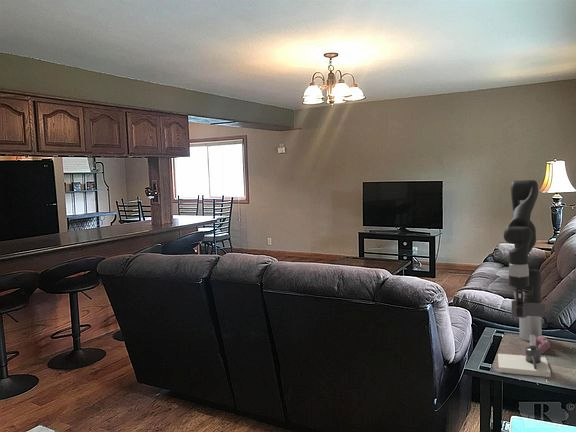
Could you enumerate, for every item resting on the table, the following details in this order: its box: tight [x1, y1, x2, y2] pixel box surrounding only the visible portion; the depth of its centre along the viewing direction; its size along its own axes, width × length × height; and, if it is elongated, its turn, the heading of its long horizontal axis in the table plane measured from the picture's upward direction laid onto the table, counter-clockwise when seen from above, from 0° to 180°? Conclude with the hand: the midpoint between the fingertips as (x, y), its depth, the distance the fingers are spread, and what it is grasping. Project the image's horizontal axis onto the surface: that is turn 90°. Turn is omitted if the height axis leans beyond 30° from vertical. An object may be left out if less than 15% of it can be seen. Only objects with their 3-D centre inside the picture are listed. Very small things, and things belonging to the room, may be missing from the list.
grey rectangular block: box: [510, 299, 546, 319], centre depth 190 cm, size 6×12×6 cm, turn 66°
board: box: [497, 353, 552, 378], centre depth 187 cm, size 15×18×2 cm
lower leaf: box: [524, 334, 542, 369], centre depth 184 cm, size 11×6×11 cm, turn 157°
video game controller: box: [536, 335, 551, 354], centre depth 204 cm, size 10×5×7 cm, turn 169°
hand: (519, 314), depth 192 cm, fingers closed on grey rectangular block, 5 cm apart
